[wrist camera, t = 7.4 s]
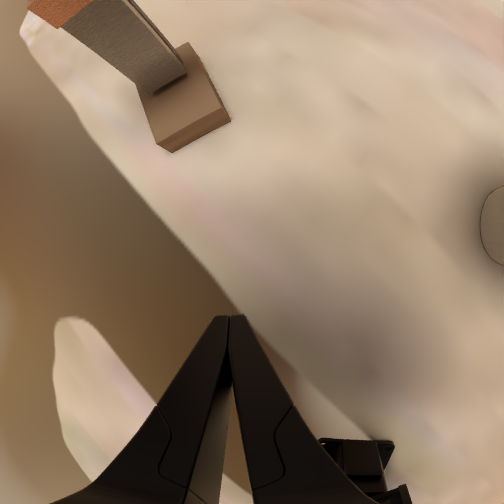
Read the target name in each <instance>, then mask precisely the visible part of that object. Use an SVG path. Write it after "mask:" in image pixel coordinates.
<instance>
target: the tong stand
mask: <svg viewBox="0 0 504 504" xmlns="http://www.w3.org/2000/svg"><path fill="white" fill-rule="evenodd" d="M127 1H128V2H129V3H130V4H131V5H132V6H133V7H134V8H135V10H136V11H137V12H138V13H139V14H140V15H141V16H142V17H143V18H144V20H145V21H146V22H147V23H148V24H149V25H150V26H151V28H152V29H153V30H154V31H155V32H156V33H157V34H158V36H159V37H160V38H161V39H162V40H163V41H164V43H165V44H166V45H167V46H168V47H169V49H170V50H171V51H172V52H173V53H174V55H175V56H176V57H177V58H178V59H179V61H180V62H181V63H182V65H183V67H184V69H185V71H186V73H185V74H183V75H181V76H179V77H178V78H176V79H174V80H172V81H171V82H169V83H167V84H166V85H164V86H162V87H161V88H159V89H158V90H156V91H154V92H153V93H151V94H150V95H149V94H148V93H146V92H145V91H144V90H143V89H141V88H140V87H139V86H138V85H136V87H137V90H138V93H139V96H140V99H141V102H142V105H143V108H144V111H145V113H146V116H147V119H148V122H149V125H150V128H151V130H152V133H153V136H154V139H155V142H156V144H157V145H159V146H161V147H163V148H164V149H166V150H168V151H170V152H171V153H173V152H175V151H176V150H178V149H180V148H182V147H183V146H185V145H187V144H189V143H190V142H192V141H194V140H196V139H198V138H200V137H201V136H203V135H205V134H207V133H209V132H211V131H213V130H215V129H217V128H218V127H220V126H222V125H224V124H226V123H228V122H230V121H231V119H230V117H229V115H228V113H227V111H226V109H225V107H224V105H223V103H222V101H221V99H220V97H219V95H218V93H217V91H216V89H215V87H214V85H213V83H212V81H211V79H210V77H209V75H208V73H207V72H206V70H205V68H204V66H203V64H202V62H201V60H200V58H199V56H198V55H197V54H196V52H195V51H194V49H193V48H192V47H191V45H190V44H189V42H187V43H185V44H183V45H181V46H180V47H178V48H176V49H174V47H173V46H172V45H171V44H170V43H169V41H168V40H167V39H166V38H165V37H164V35H163V34H162V33H161V32H160V31H159V29H158V28H157V27H156V26H155V25H154V23H153V22H152V21H151V20H150V19H149V18H148V16H147V15H146V14H145V13H144V12H143V11H142V10H141V8H140V7H139V6H138V5H137V4H136V3H135V2H134V1H133V0H127Z"/></svg>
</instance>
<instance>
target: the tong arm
mask: <svg viewBox="0 0 504 504" xmlns="http://www.w3.org/2000/svg"><path fill="white" fill-rule="evenodd" d="M26 8H27V9H28V10H30V11H31V12H33V13H34V14H36V15H37V16H39V17H40V18H42V19H43V20H45V21H46V22H48V23H49V24H51V25H52V26H54V27H55V28H56V29H59V28H60V27H61V28H63V29H64V30H65V31H67V32H68V33H70V34H71V35H72V36H74V37H75V38H76V39H78V40H79V41H81V42H82V43H83V44H85V45H86V46H87V47H89V48H90V49H91V50H93V51H94V52H95V53H97V54H98V55H99V56H101V57H102V58H103V59H104V60H106V61H107V62H108V63H110V64H111V65H112V66H114V67H115V68H116V69H117V70H119V71H120V72H121V73H123V74H124V75H125V76H126V77H128V78H129V79H130V80H131V81H133V82H134V83H135V84H136V85H138V86H139V87H140V88H141V89H143V90H144V91H145V92H146V93H148V94H149V95H150V94H151V93H153V92H154V91H156V90H158V89H159V88H161V87H162V86H164V85H166V84H167V83H169V82H171V81H172V80H174V79H176V78H178V77H179V76H181V75H183V74H185V73H186V71H185V69H184V67H183V65H182V63H181V62H180V61H179V59H178V58H177V57H176V56H175V55H174V53H173V52H172V51H171V50H170V49H169V47H168V46H167V45H166V44H165V43H164V41H163V40H162V39H161V38H160V37H159V36H158V34H157V33H156V32H155V31H154V30H153V29H152V28H151V26H150V25H149V24H148V23H147V22H146V21H145V20H144V18H143V17H142V16H141V15H140V14H139V13H138V12H137V11H136V10H135V8H134V7H133V6H132V5H131V4H130V3H129V2H128V1H127V0H28V2H27V7H26Z"/></svg>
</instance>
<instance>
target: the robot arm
mask: <svg viewBox="0 0 504 504" xmlns="http://www.w3.org/2000/svg"><path fill="white" fill-rule="evenodd" d="M232 384H233V390H234V397H235V403H236V409H237V415H238V421H239V427H240V433H241V439H242V445H243V450H244V456H245V461H246V467H247V472H248V478H249V482H250V488H251V493H252V498H253V503H254V504H412V501H411V498H410V495H409V492H408V489H407V486H406V484H403V485H400V486H398V488H396V489H393V490H390V491H388V490H387V486H386V481H385V477H384V469H385V467H386V465H387V463H388V461H389V459H390V457H391V455H392V453H393V450H394V448H395V446H394V443H393V442H392V441H370V440H349V439H346V440H344V439H332V438H320V439H319V440H317V439H316V438H315V437H314V435H313V434H312V432H311V431H310V429H309V428H308V426H307V425H306V423H305V422H304V420H303V418H302V417H301V415H300V413H299V411H298V410H297V408H296V407H295V406H294V403H293V401H292V399H291V398H290V396H289V394H288V392H287V391H286V389H285V387H284V385H283V383H282V382H281V380H280V378H279V376H278V375H277V373H276V371H275V369H274V367H273V365H272V364H271V362H270V360H269V358H268V356H267V355H266V353H265V351H264V349H263V347H262V345H261V344H260V342H259V340H258V338H257V336H256V334H255V332H254V331H253V329H252V327H251V325H250V323H249V321H248V319H247V318H246V316H245V315H244V314H232V315H231V316H229V315H226V314H224V315H215V316H214V317H213V318H212V320H211V322H210V323H209V325H208V326H207V328H206V329H205V331H204V332H203V334H202V335H201V337H200V338H199V340H198V342H197V343H196V345H195V346H194V348H193V349H192V351H191V352H190V354H189V355H188V357H187V358H186V360H185V361H184V363H183V365H182V366H181V368H180V369H179V371H178V372H177V374H176V375H175V377H174V378H173V380H172V381H171V383H170V384H169V386H168V387H167V389H166V390H165V392H164V394H163V395H162V397H161V398H160V400H159V401H158V403H157V406H155V407H154V408H153V410H152V412H151V413H150V415H149V416H148V418H147V419H146V420H145V422H144V423H143V425H142V426H141V428H140V429H139V430H138V432H137V433H136V434H135V435H134V437H133V438H132V439H131V440H130V441H129V443H128V444H127V445H126V446H125V447H124V449H123V450H122V451H121V452H120V453H119V454H118V455H117V456H116V458H115V459H114V460H113V461H112V462H111V463H110V464H109V466H108V467H107V468H106V469H105V470H104V471H103V472H102V473H101V474H100V476H99V477H98V478H97V479H96V480H94V481H93V482H92V483H91V484H90V485H88V486H87V487H85V488H84V489H82V490H80V491H78V492H76V493H74V494H71V495H69V496H67V497H65V498H62V499H60V500H58V501H55V502H53V503H50V504H219V497H220V489H221V480H222V472H223V462H224V455H225V447H226V438H227V430H228V421H229V413H230V405H231V397H232ZM321 443H326V444H324V445H322V444H321ZM388 446H390V447H389V448H387V447H388Z"/></svg>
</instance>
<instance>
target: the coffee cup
mask: <svg viewBox="0 0 504 504" xmlns="http://www.w3.org/2000/svg"><path fill="white" fill-rule="evenodd" d="M480 230H481V238H482V242H483V245H484V248H485V250H486V252H487V253H488V255H489V256H490V257H491V258H492V259H493V260H495V261H496V262H497V263H500V264H502V265H504V186H502V187H500V188H498V189H496V190H495V191H493V192H492V193H491V194H490V195H489V196H488V197H487V199H486V201H485V203H484V206H483V209H482V214H481V222H480Z"/></svg>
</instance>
